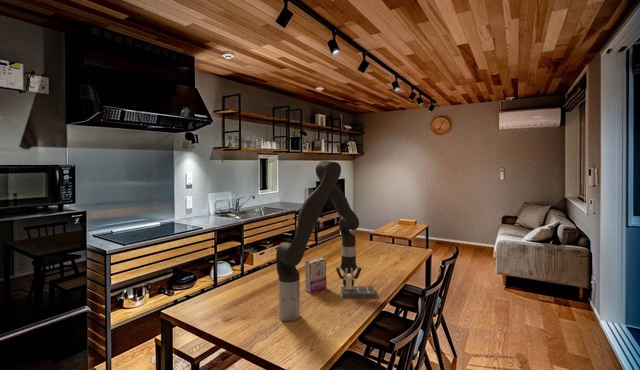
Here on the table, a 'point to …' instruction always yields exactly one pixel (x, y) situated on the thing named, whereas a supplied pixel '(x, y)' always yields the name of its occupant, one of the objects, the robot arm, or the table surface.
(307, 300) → the table surface
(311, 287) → the candy bar box
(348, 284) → the fader knob
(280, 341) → the table surface
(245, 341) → the table surface
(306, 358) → the table surface
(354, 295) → the fader console
